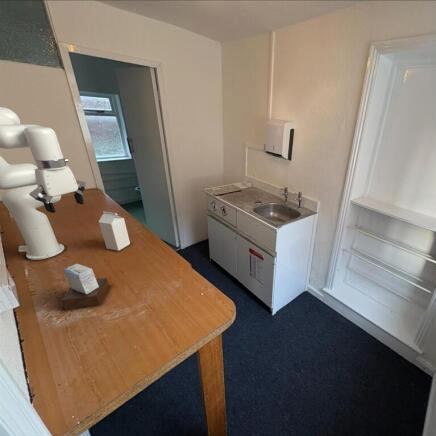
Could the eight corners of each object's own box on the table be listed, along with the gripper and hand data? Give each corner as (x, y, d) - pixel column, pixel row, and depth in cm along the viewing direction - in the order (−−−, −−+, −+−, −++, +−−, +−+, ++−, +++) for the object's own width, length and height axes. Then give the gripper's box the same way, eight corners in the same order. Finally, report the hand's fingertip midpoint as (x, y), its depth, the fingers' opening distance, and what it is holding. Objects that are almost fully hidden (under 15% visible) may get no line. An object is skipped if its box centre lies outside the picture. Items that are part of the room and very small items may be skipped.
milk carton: (118, 251, 114) (108, 216, 106) (106, 248, 115) (95, 214, 107) (130, 244, 121) (122, 210, 113) (118, 241, 122) (109, 208, 114)
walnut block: (65, 310, 81) (60, 300, 79) (78, 290, 89) (75, 281, 88) (99, 305, 84) (96, 295, 82) (109, 286, 92) (106, 277, 91)
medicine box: (99, 287, 86) (92, 268, 82) (86, 295, 82) (78, 275, 78) (84, 281, 88) (77, 262, 84) (70, 289, 84) (62, 269, 80)
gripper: (70, 158, 92) (83, 199, 99) (11, 166, 77) (32, 214, 84) (84, 161, 90) (96, 202, 97) (27, 170, 75) (46, 217, 82)
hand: (66, 207), depth 90 cm, fingers open, 9 cm apart
